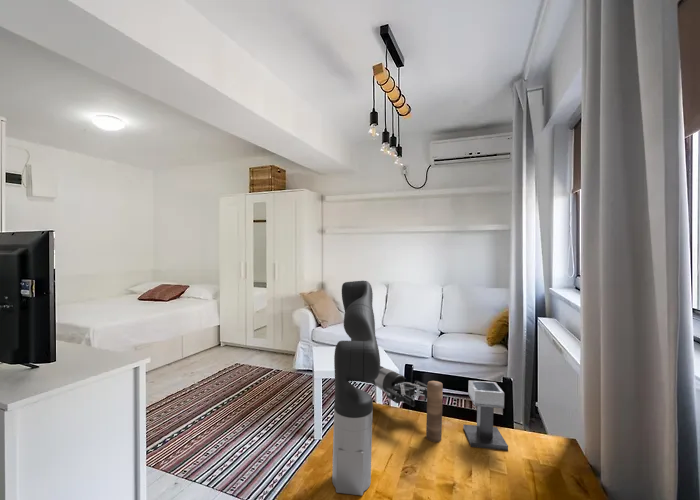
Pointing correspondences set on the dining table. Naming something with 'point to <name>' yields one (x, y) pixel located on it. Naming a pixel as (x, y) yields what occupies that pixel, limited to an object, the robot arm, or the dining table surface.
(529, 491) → the dining table surface
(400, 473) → the dining table surface
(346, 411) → the robot arm
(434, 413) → the walnut rail post
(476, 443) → the stand
